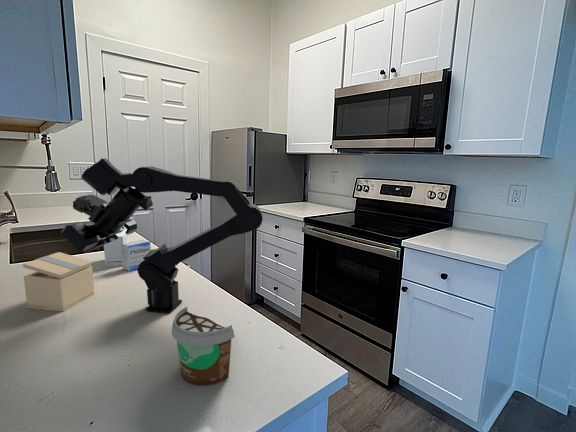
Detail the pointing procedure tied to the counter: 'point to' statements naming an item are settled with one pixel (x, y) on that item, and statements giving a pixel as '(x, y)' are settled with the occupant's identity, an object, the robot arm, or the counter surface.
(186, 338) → the food container
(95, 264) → the counter surface
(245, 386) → the counter surface
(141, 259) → the medicine box
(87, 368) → the counter surface
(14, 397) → the counter surface
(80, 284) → the carton
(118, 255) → the skincare box
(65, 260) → the carton lid
